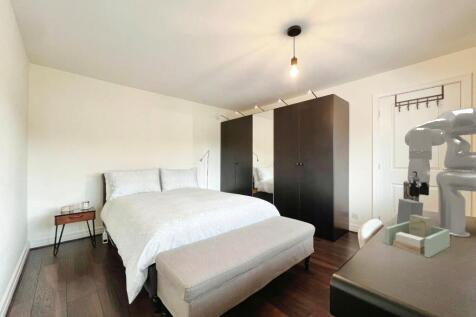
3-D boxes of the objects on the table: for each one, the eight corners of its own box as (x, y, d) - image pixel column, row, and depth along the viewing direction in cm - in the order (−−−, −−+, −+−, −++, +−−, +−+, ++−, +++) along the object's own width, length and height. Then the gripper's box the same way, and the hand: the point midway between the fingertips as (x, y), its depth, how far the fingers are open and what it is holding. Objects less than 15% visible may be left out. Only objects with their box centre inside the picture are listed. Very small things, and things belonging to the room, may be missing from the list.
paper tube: (422, 228, 111) (422, 182, 112) (407, 227, 113) (408, 181, 113) (414, 224, 118) (414, 181, 118) (400, 223, 119) (400, 180, 120)
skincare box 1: (396, 227, 112) (396, 198, 112) (408, 227, 112) (408, 198, 112) (410, 233, 103) (410, 201, 103) (423, 233, 104) (423, 201, 104)
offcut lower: (398, 244, 90) (399, 237, 90) (425, 253, 82) (425, 245, 82) (393, 247, 87) (393, 240, 87) (420, 255, 79) (420, 248, 79)
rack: (408, 235, 100) (408, 221, 100) (449, 246, 87) (449, 229, 88) (385, 243, 89) (385, 227, 89) (428, 257, 77) (428, 238, 77)
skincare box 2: (408, 242, 92) (408, 214, 92) (414, 240, 93) (414, 214, 93) (425, 247, 86) (425, 218, 86) (431, 246, 87) (431, 217, 87)
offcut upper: (400, 238, 89) (400, 231, 89) (424, 245, 82) (424, 238, 82) (395, 240, 87) (395, 233, 87) (419, 247, 80) (419, 240, 80)
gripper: (417, 157, 97) (417, 193, 97) (400, 155, 89) (399, 195, 88) (439, 157, 91) (438, 195, 91) (422, 155, 82) (422, 198, 82)
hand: (419, 195), depth 90 cm, fingers open, 9 cm apart
